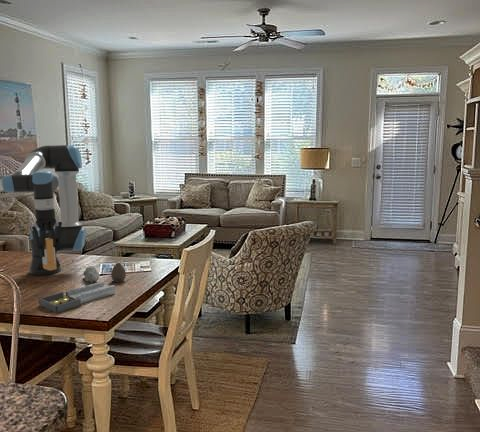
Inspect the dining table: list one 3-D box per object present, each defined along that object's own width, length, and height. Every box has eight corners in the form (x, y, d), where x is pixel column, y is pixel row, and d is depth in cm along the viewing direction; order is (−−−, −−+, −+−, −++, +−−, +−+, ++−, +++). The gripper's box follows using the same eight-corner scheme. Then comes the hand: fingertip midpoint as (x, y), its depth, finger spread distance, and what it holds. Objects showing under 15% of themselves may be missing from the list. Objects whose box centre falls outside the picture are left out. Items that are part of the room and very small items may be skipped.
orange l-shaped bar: (43, 268, 202) (40, 238, 200) (49, 266, 205) (47, 237, 202) (50, 270, 199) (47, 240, 196) (56, 268, 201) (54, 239, 199)
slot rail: (66, 299, 203) (65, 291, 203) (102, 288, 217) (101, 281, 216) (78, 304, 197) (78, 296, 196) (115, 293, 210) (114, 285, 210)
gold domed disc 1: (47, 306, 194) (47, 301, 193) (57, 303, 197) (56, 299, 196) (52, 308, 191) (52, 303, 191) (61, 306, 194) (61, 301, 194)
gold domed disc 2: (57, 304, 196) (56, 299, 196) (65, 301, 200) (65, 296, 199) (62, 306, 194) (62, 301, 194) (71, 303, 197) (70, 298, 197)
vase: (113, 278, 232) (112, 261, 230) (127, 278, 232) (127, 261, 230) (109, 283, 225) (108, 265, 224) (124, 283, 225) (123, 265, 223)
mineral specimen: (102, 284, 224) (102, 270, 223) (87, 286, 221) (86, 272, 220) (98, 275, 238) (97, 262, 237) (83, 277, 235) (82, 264, 234)
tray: (39, 305, 196) (38, 298, 196) (63, 298, 204) (62, 291, 204) (56, 313, 187) (56, 306, 187) (81, 305, 195) (80, 298, 195)
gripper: (30, 212, 189) (35, 268, 193) (67, 206, 201) (71, 260, 205) (21, 210, 193) (26, 265, 198) (57, 205, 206) (61, 257, 210)
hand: (49, 262), depth 201 cm, fingers closed on orange l-shaped bar, 3 cm apart
